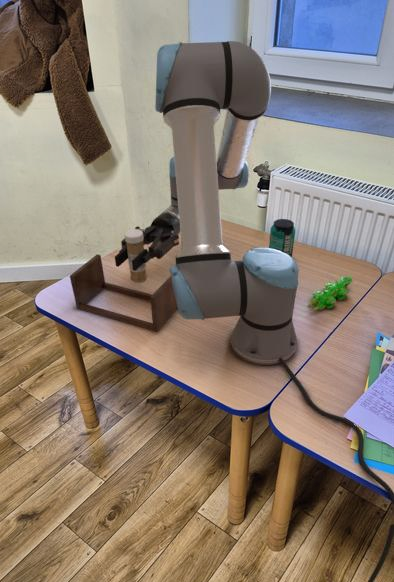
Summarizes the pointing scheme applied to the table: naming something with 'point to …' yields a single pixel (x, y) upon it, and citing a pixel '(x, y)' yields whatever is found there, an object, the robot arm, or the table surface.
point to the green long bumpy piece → (331, 293)
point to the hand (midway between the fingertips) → (125, 263)
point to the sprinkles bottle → (135, 254)
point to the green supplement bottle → (282, 236)
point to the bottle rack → (92, 282)
